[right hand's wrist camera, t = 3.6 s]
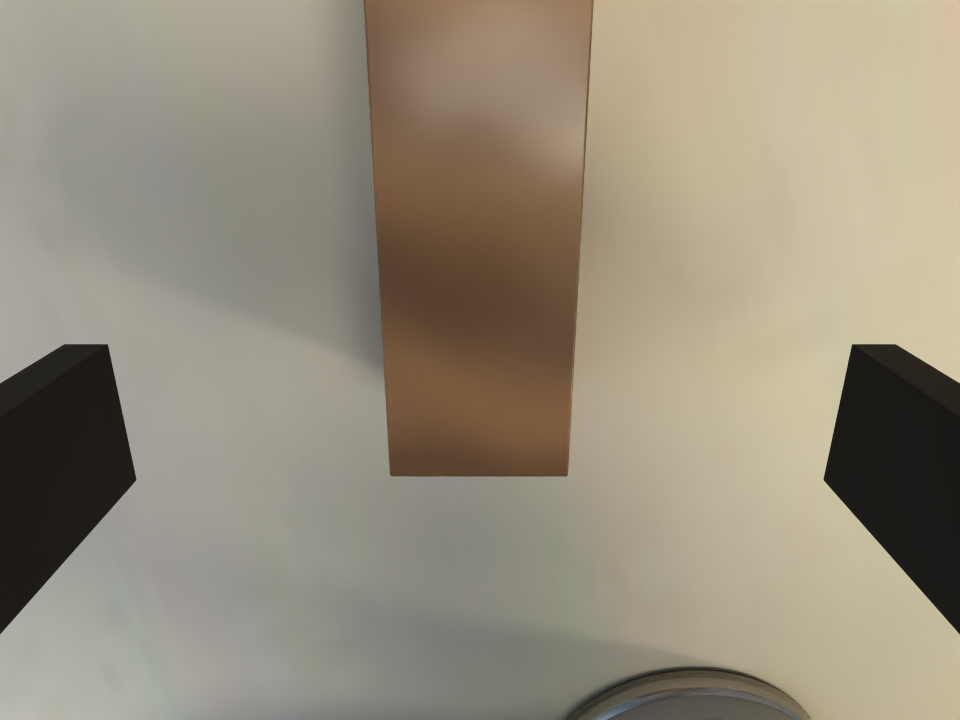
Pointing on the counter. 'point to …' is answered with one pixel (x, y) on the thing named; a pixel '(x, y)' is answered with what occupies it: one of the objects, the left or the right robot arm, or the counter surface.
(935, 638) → the counter surface
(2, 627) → the right robot arm
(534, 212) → the post
